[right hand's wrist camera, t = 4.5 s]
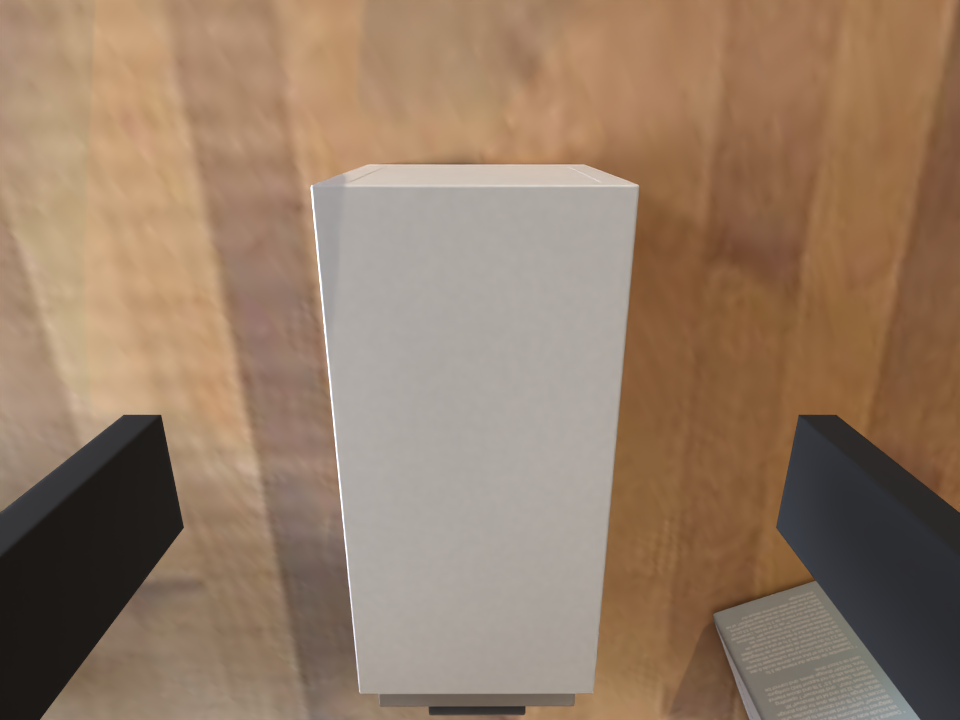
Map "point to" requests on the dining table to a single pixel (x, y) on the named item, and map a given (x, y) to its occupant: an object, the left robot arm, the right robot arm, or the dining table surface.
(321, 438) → the dining table surface
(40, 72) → the dining table surface
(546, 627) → the cabinet
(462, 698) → the drawer
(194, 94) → the dining table surface
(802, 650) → the hard drive box
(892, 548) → the right robot arm
